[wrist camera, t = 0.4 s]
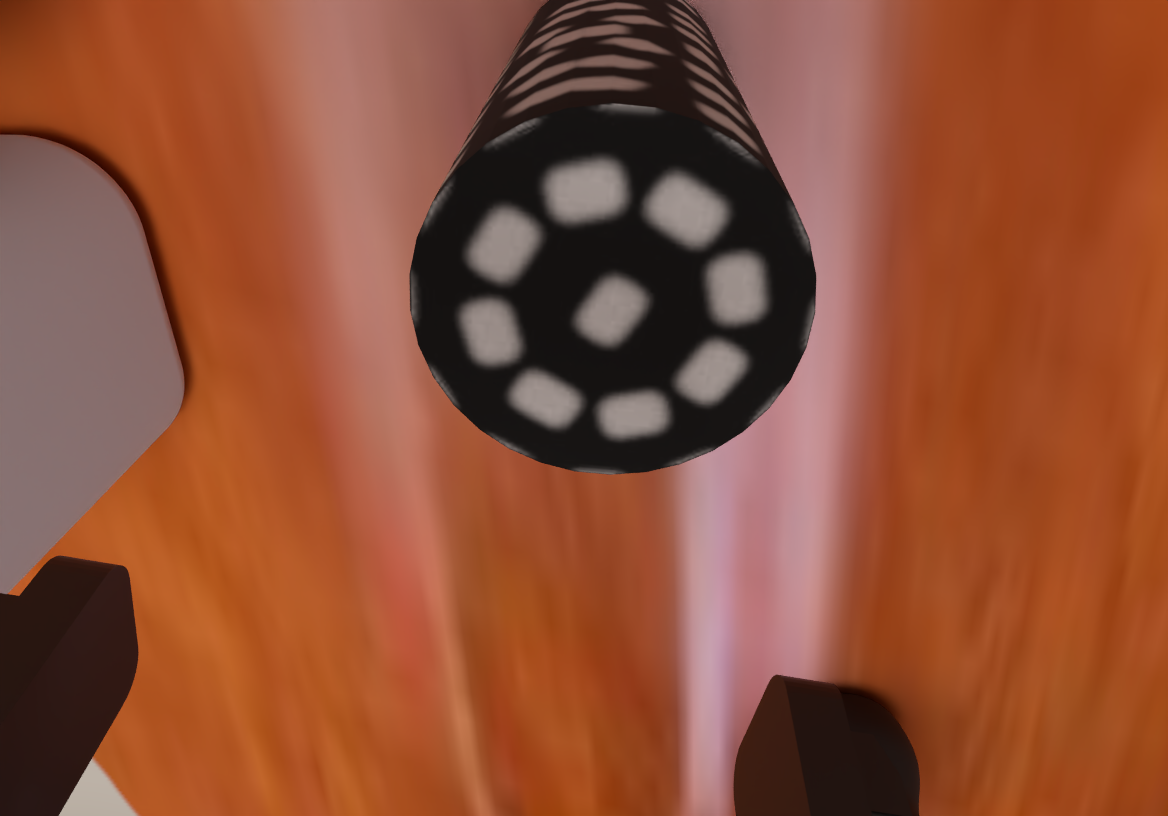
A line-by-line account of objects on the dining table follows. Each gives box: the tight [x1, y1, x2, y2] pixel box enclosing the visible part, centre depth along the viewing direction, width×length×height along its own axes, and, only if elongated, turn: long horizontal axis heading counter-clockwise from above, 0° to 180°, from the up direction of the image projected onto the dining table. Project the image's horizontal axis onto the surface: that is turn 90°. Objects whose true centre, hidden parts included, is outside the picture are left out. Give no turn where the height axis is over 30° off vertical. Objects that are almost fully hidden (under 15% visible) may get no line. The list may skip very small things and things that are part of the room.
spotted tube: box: [410, 0, 816, 474], centre depth 27 cm, size 8×8×20 cm
